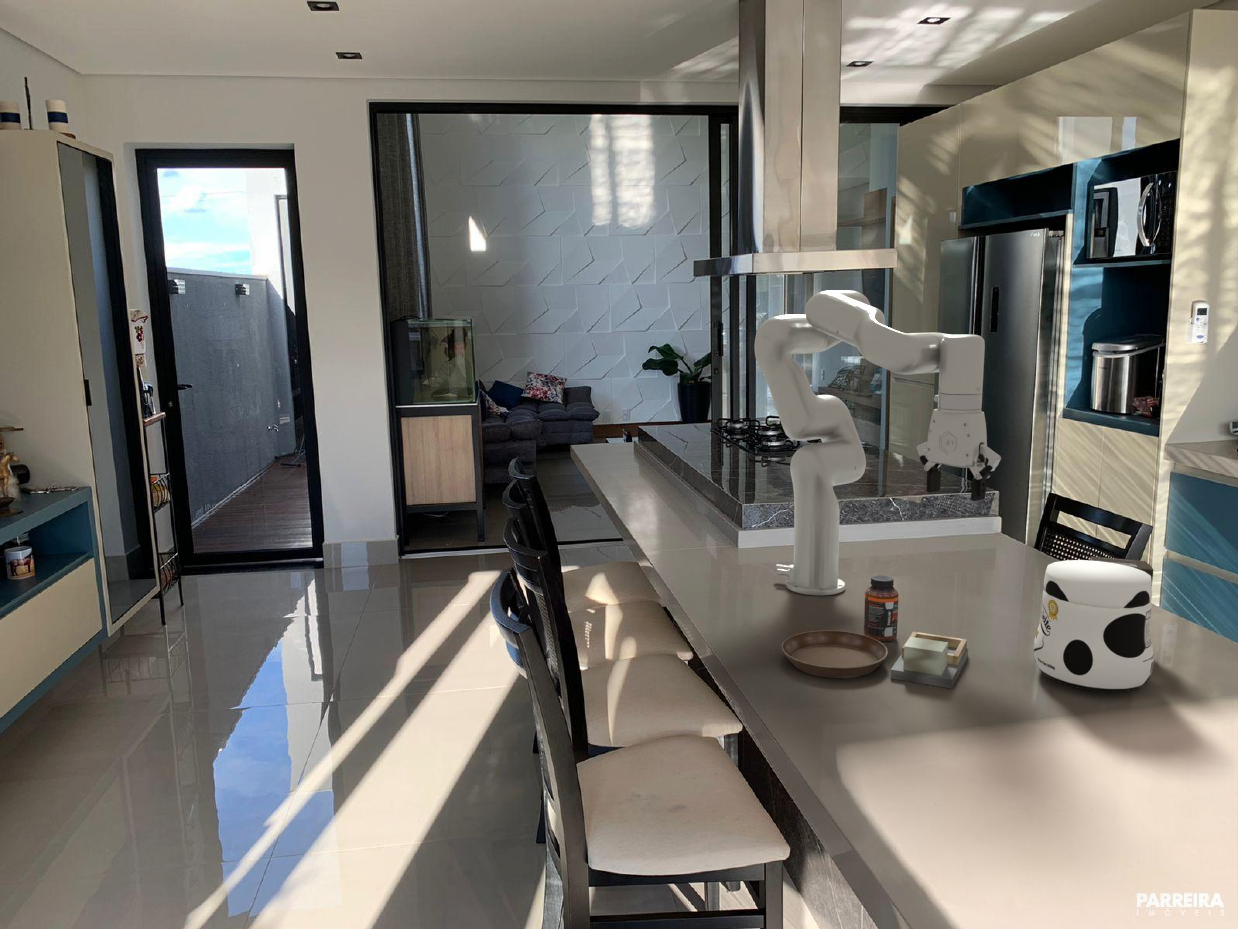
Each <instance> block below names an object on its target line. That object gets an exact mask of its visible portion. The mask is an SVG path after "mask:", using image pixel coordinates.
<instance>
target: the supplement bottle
mask: <svg viewBox="0 0 1238 929" xmlns="http://www.w3.org/2000/svg"><path fill="white" fill-rule="evenodd" d="M894 581H895V580H894V578H893V577H892V576H889V575H882V574H881V575H880V574H878V575H877V574H876V575H873V576H871V578H870V584H871V585H870V586H869V587H867V588H866V589H865V592H864V615H863V617H864V618H863V635H865V636H868V637H871V638H874V639H876V640H878V641H879V642H891V641H894V640H895V639H897V636H898V623H899V622H898V621H899V592H898V590H897V589H896V588H895V587H894V583H895V582H894Z"/></svg>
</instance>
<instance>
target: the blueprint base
mask: <svg viewBox="0 0 1238 929" xmlns="http://www.w3.org/2000/svg"><path fill="white" fill-rule="evenodd" d="M968 657H969V647H968V639H966V638H958V637H953V636H948V635H947V636H946V635H938V634H933V633H932V634H931V633H925V632H918V631H912V632H911V634H910V636H909V637H908V638H907V640H906V642H904V644H903V646H902V647H901V654H900V656H899V657H898V659H897V660H896V661H895V662H894V664H893V666H892V667H891V668H890V679H894V680H900V681H905V682H912V683H917V684H923V685H927V684H928V686H933V685H934V687H939V688H944V689H951V688H952V689H953V687H954V685H955V683H956V681H957V679H958V677H959V675H960V673H961V671H962V669H963V667H964V665H965V663H966V661H967V658H968Z"/></svg>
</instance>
